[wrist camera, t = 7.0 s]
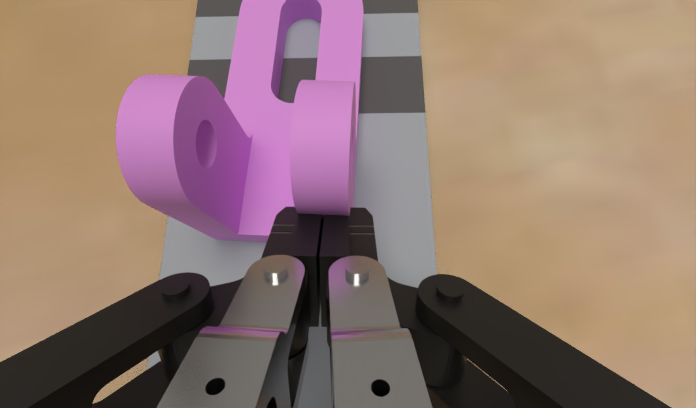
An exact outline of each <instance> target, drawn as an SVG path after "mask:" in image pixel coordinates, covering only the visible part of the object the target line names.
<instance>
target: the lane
mask: <svg viewBox="0 0 696 408" xmlns="http://www.w3.org/2000/svg"><path fill="white" fill-rule="evenodd" d="M242 1H243V0H198V4H197V11H196V18H195V25H194V32H193V40H192V47H191V54H190V61H189V68H188V76H203V77H206V78H208V79H209V80H211V81H212V82H213V84H214V85H215V86H216V87H217V89H218V91H219V92H220V94H221V95H222V97H223V99H224V98H225V92H226V86H227V81H228V75H229V69H230V63H231V58H232V52H233V46H234V40H235V34H236V29H237V23H238V17H239V11H240V7H241V3H242ZM362 2H363V45H362V63H361V81H360V99H359V117H358V135H357V154H356V172H355V190H354V207H356V208H366V209H367V210H368V211H369V212H370V213H371V214H372V216H373V223H374V231H375V240H376V248H377V256H378V262H379V263H380V264H381V265H382V266H383V267H384V269H385V271H386V275H387V277H388V278H390V279H391V280H393V281H395V282H398V283H400V284H404V285H408V286H412V287H416V288H418V286H419V284H420V282H421V281H422V280H424V279H425V278H427V277H429V276H432V275H437V272H436V258H435V244H434V230H433V216H432V202H431V188H430V173H429V159H428V145H427V131H426V117H425V103H424V89H423V75H422V60H421V46H420V32H419V18H418V4H417V0H362ZM320 26H321V24H320V23H319V22H317V21H315V20H313V19H300V20H297V21H295V22H294V23H292V24H291V25H290V26H289V28H288V30H287V33H286V41H285V49H284V57H283V65H282V73H281V80H280V88H279V96H278V99H279V100H281V101H283V102H286V103H294V99H295V94H296V90H297V87H298V84H299V82H300V81H301V80H315V79H316V68H317V58H318V47H319V37H320ZM266 243H267V242H257V241H238V240H219V239H214V238H212V237H210V236H208V235H206V234H204V233H202V232H200V231H198V230H196V229H194V228H192V227H190V226H188V225H186V224H184V223H182V222H180V221H178V220H176V219H174V218H172V217H170V216H168V220H167V227H166V234H165V242H164V249H163V256H162V263H161V270H160V278H159V280H161V279H163V278H165V277H167V276H170V275H173V274H177V273H185V272H192V273H198V274H201V275H203V276H205V277H206V278H207V279H208V281H209V284H210V286H215V285H220V284H225V283H229V282H233V281H236V280H239V279H241V278H244V276H245V274H246V272H247V271H248V269H249V267H250V266H251V265H252V264H253V263H255V262H256V261H258V260H259V259H261V257H262V254H263V251H264V248H265V246H266ZM308 339H309V355H308V359H307V364H306V369H305V374H304V379H303V384H302V389H301V394H300V398H299V403H298V408H332V407H331V378H330V348H329V346H328V343H327V327H321V305H320V316H319V326H318V327H309V334H308ZM159 361H161V360H160V356H159V353H158V351H157V352H155V353H153V354H152V355H150V356H149V357H148V364H147V370H148V369H149V368H151V367H152V366H154V365H155V364H156V363H158V362H159Z"/></svg>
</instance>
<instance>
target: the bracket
mask: <svg viewBox="0 0 696 408" xmlns="http://www.w3.org/2000/svg"><path fill="white" fill-rule="evenodd" d="M300 19H313V20H315V21H317V22H319V23H320V24H321V26H320V37H319V47H318V58H317V68H316V79H315V80H301V81H300V82H299V84H298V87H297V90H296V94H295V99H294V103H286V102H283V101H281V100H279V99H278V96H279V88H280V80H281V73H282V65H283V57H284V49H285V41H286V33H287V30H288V28H289V26H290V25H291V24H292V23H294V22H295V21H297V20H300ZM362 45H363V2H362V0H243V1H242V3H241V7H240V11H239V17H238V23H237V29H236V34H235V40H234V46H233V52H232V58H231V63H230V69H229V75H228V81H227V86H226V92H225V98H224V99H223V97H222V95H221V94H220V92H219V91H218V89H217V87H216V86H215V85H214V84H213V82H212V81H211V80H209V79H208V78H206V77H203V76H184V75H155V74H147V75H143V76H140V77H139V78H137V79H136V80H135V81H133V82H132V83H131V85H130V86H129V87H128V89H127V90H126V92H125V94H124V96H123V98H122V101H121V104H120V107H119V111H118V116H117V123H116V147H117V155H118V160H119V164H120V167H121V171H122V173H123V176H124V178H125V181H126V183H127V185H128V186H129V188H130V190H131V191H132V192H133V194H134V195H135V196H136V197H137V198H138V199H139V200H140V201H141V202H143V203H145V204H146V205H148V206H150V207H152V208H154V209H156V210H158V211H160V212H162V213H164V214H166V215H168V216H170V217H172V218H174V219H176V220H178V221H180V222H182V223H184V224H186V225H188V226H190V227H192V228H194V229H196V230H198V231H200V232H202V233H204V234H206V235H208V236H210V237H212V238H214V239H219V240H238V241H257V242H267V240H268V237H269V234H270V233H271V229H272V226H273V223H274V220H275V217H276V215H277V214H278V213H279V212H280V211H281V210H282V209H284V208H285V207H295V208H296V211H297V213H300V214H322V218H323V222H324V215H344V216H349V217H350V208H351V207H354V190H355V172H356V154H357V135H358V117H359V99H360V81H361V63H362Z"/></svg>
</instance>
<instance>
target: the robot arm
mask: <svg viewBox="0 0 696 408" xmlns="http://www.w3.org/2000/svg"><path fill="white" fill-rule="evenodd" d="M320 305H321V327H327V343H328V346H329V348H330V378H331V407H332V408H671V407H669V406H668V405H666V404H665V403H663V402H661V401H660V400H658V399H656V398H655V397H653V396H652V395H650V394H648V393H647V392H645V391H644V390H642V389H640V388H639V387H637V386H635V385H634V384H632V383H631V382H629V381H627V380H626V379H624V378H623V377H621V376H619V375H618V374H616V373H614V372H613V371H611V370H610V369H608V368H606V367H605V366H603V365H602V364H600V363H598V362H597V361H595V360H593V359H592V358H590V357H589V356H587V355H585V354H584V353H582V352H581V351H579V350H577V349H576V348H574V347H572V346H571V345H569V344H568V343H566V342H564V341H563V340H561V339H560V338H558V337H556V336H555V335H553V334H552V333H550V332H548V331H547V330H545V329H543V328H542V327H540V326H539V325H537V324H535V323H534V322H532V321H531V320H529V319H527V318H526V317H524V316H522V315H521V314H519V313H518V312H516V311H514V310H513V309H511V308H510V307H508V306H506V305H505V304H503V303H501V302H500V301H498V300H497V299H495V298H493V297H492V296H490V295H489V294H487V293H485V292H484V291H482V290H480V289H479V288H477V287H476V286H474V285H472V284H471V283H469V282H467V281H466V280H464V279H462V278H459V277H456V276H452V275H445V274H438V275H432V276H429V277H427V278H425V279H424V280H422V281H421V282H420V284H419V286H418V288H416V287H412V286H408V285H404V284H400V283H398V282H395V281H393V280H391V279H390V278H388V277H387V275H386V271H385V269H384V267H383V266H382V265H381V264H380V263H379V262H378V256H377V248H376V240H375V231H374V223H373V216H372V214H371V213H370V212H369V211H368V210H367V209H366V208H356V207H351V208H350V217H349V216H344V215H324V222H323V218H322V214H300V213H297V211H296V208H295V207H285V208H284V209H282V210H281V211H280V212H279V213H278V214H277V215H276V217H275V220H274V223H273V226H272V229H271V233H270V234H269V237H268V240H267V243H266V246H265V248H264V251H263V254H262V257H261V259H259V260H258V261H256V262H255V263H253V264H252V265H251V266H250V267H249V269H248V271H247V272H246V274H245V276H244V278H241V279H239V280H236V281H233V282H229V283H225V284H220V285H215V286H210V284H209V281H208V279H207V278H206V277H205V276H203V275H201V274H198V273H192V272H185V273H177V274H173V275H170V276H167V277H165V278H163V279H161V280H159V281H157V282H155V283H153V284H151V285H149V286H147V287H145V288H143V289H141V290H139V291H137V292H135V293H133V294H132V295H130V296H128V297H126V298H124V299H122V300H120V301H118V302H116V303H114V304H112V305H110V306H108V307H106V308H104V309H103V310H101V311H99V312H97V313H95V314H93V315H91V316H89V317H87V318H85V319H83V320H81V321H79V322H77V323H75V324H74V325H72V326H70V327H68V328H66V329H64V330H62V331H60V332H58V333H56V334H54V335H52V336H50V337H48V338H46V339H45V340H43V341H41V342H39V343H37V344H35V345H33V346H31V347H29V348H27V349H25V350H23V351H21V352H19V353H17V354H16V355H14V356H12V357H10V358H8V359H6V360H4V361H2V362H0V408H298V403H299V398H300V394H301V389H302V384H303V379H304V374H305V369H306V364H307V359H308V355H309V339H308V334H309V327H318V326H319V316H320ZM157 351H158V353H159V356H160V360H161V361H159V362H158V363H156V364H155V365H154V366H152V367H151V368H149V369H148V370H146V371H145V372H143V373H142V374H140V375H139V376H137V377H136V378H134V379H133V380H131V381H130V382H128V383H127V384H125V385H124V386H122V387H121V388H120V389H118V390H117V391H115V392H114V393H112V394H111V395H109V396H108V397H106V398H105V399H103V400H102V401H100V402H97V403H94V404H92V403H93V400H94V398H95V396H96V394H97V393H98V392H99V391H100V390H101V389H102V388H103V387H104V386H105V385H106V384H108V383H109V382H111V381H112V380H114V379H115V378H117V377H118V376H120V375H121V374H123V373H124V372H126V371H127V370H129V369H131V368H132V367H134V366H135V365H137V364H138V363H140V362H141V361H143V360H144V359H146V358H147V357H149V356H150V355H152V354H153V353H155V352H157ZM467 358H468V359H469V360H470V361H472V362H473V363H474V364H475V365H477V366H478V367H479V368H481V369H482V370H483V371H484V372H486V373H487V374H488V375H489V376H491V377H492V378H493V379H494V380H496V381H497V382H498V383H499V384H501V385H502V386H503V387H504V388H505V389H506V390H507V391H508V392H509V393H508V392H507V391H506V390H505V389H503V388H502V387H501V386H500V385H498V384H497V383H496V382H495V381H493V380H492V379H491V378H489V377H488V376H487V375H486V374H484V373H483V372H482V371H481V370H479V369H478V368H477V367H476V366H474V365H473V364H472V363H471V362H469V361H468V360H467Z"/></svg>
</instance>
